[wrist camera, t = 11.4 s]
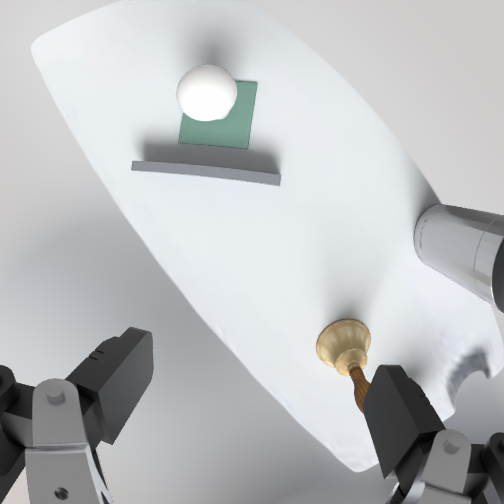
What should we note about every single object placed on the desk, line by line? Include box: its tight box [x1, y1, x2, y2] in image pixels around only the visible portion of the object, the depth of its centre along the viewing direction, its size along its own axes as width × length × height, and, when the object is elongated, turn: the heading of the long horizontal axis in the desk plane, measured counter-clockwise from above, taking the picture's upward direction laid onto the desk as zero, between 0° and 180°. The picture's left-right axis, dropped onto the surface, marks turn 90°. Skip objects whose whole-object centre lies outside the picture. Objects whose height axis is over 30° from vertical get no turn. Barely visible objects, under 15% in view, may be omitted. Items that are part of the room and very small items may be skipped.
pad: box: [178, 81, 257, 149], centre depth 33 cm, size 9×9×1 cm
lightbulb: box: [176, 65, 237, 121], centre depth 28 cm, size 6×6×11 cm
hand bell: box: [316, 319, 371, 414], centre depth 31 cm, size 8×8×16 cm
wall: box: [131, 161, 281, 186], centre depth 33 cm, size 18×1×4 cm, turn 82°
